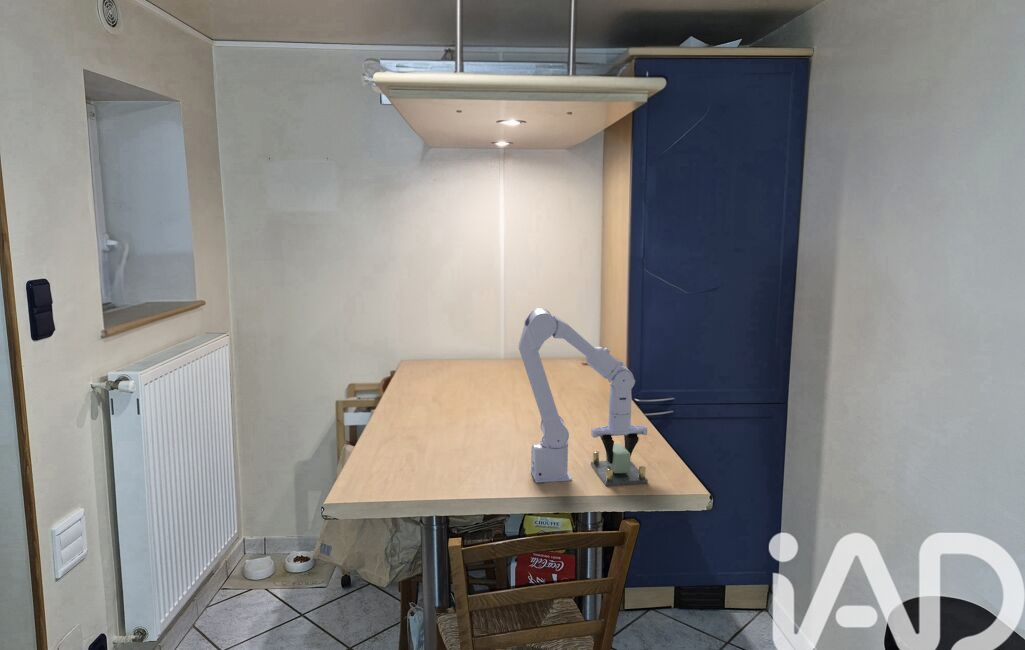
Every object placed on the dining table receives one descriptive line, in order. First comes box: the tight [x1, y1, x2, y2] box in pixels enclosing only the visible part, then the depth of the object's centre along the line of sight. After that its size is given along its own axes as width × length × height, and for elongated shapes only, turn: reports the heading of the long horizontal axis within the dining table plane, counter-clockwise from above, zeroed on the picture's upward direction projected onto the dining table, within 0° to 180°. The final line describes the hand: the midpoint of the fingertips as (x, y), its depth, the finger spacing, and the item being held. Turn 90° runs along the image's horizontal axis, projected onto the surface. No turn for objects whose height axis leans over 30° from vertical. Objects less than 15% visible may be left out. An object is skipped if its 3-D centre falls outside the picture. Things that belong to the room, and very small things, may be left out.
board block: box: [605, 443, 632, 473], centre depth 183 cm, size 4×8×5 cm, turn 9°
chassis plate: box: [590, 450, 649, 487], centre depth 183 cm, size 11×15×4 cm
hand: (618, 461), depth 183 cm, fingers closed on board block, 4 cm apart
